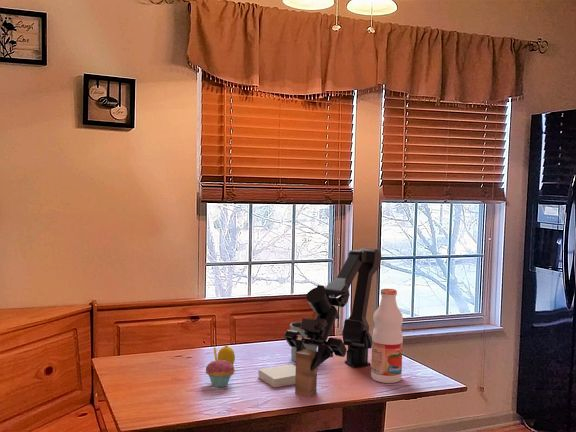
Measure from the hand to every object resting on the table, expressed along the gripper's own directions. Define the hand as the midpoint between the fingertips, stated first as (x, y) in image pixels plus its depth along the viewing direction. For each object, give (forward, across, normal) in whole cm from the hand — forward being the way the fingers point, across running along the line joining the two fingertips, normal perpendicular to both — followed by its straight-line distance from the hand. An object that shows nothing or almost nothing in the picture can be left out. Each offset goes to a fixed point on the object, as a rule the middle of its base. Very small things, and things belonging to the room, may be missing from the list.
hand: (303, 368), depth 167 cm
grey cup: (-15, -17, +26) cm, 35 cm away
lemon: (+3, -31, +8) cm, 33 cm away
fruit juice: (-13, +14, +24) cm, 31 cm away
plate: (0, -12, +10) cm, 16 cm away
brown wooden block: (+4, 0, +6) cm, 8 cm away
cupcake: (+11, -25, 0) cm, 27 cm away
